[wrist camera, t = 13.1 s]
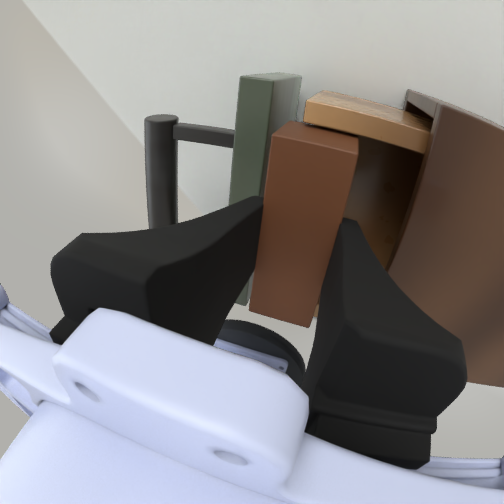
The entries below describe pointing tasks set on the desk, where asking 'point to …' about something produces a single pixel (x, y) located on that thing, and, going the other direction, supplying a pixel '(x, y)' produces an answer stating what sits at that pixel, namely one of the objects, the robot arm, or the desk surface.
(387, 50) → the desk surface
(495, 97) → the desk surface
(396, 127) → the drawer
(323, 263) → the brown long block
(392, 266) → the cabinet
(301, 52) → the desk surface
